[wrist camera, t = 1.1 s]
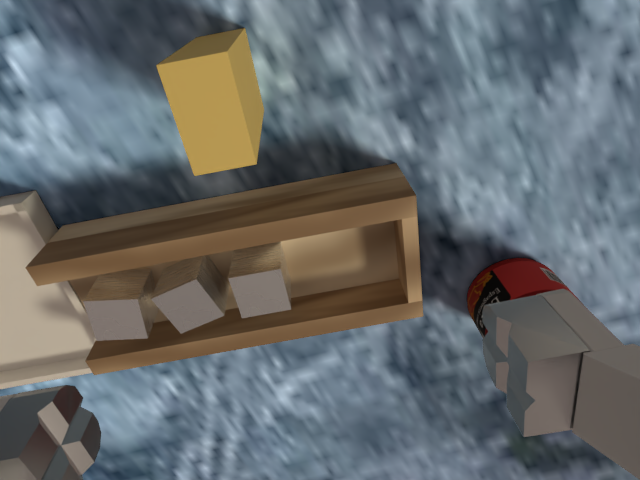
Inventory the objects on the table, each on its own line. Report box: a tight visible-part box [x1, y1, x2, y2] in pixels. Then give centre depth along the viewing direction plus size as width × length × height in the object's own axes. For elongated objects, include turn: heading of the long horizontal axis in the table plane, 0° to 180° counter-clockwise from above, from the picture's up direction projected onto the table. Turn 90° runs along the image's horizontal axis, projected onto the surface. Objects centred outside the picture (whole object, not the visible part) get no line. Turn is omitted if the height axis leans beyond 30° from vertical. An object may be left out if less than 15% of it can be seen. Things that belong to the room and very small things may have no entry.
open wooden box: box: [25, 163, 423, 375], centre depth 32 cm, size 10×25×6 cm, turn 100°
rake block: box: [156, 28, 264, 176], centre depth 24 cm, size 5×3×10 cm, turn 10°
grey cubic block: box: [228, 242, 291, 318], centre depth 31 cm, size 4×4×4 cm
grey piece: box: [151, 255, 230, 334], centre depth 31 cm, size 4×4×4 cm
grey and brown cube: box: [83, 269, 159, 341], centre depth 31 cm, size 4×4×4 cm
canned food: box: [467, 258, 581, 338], centre depth 34 cm, size 8×8×11 cm
